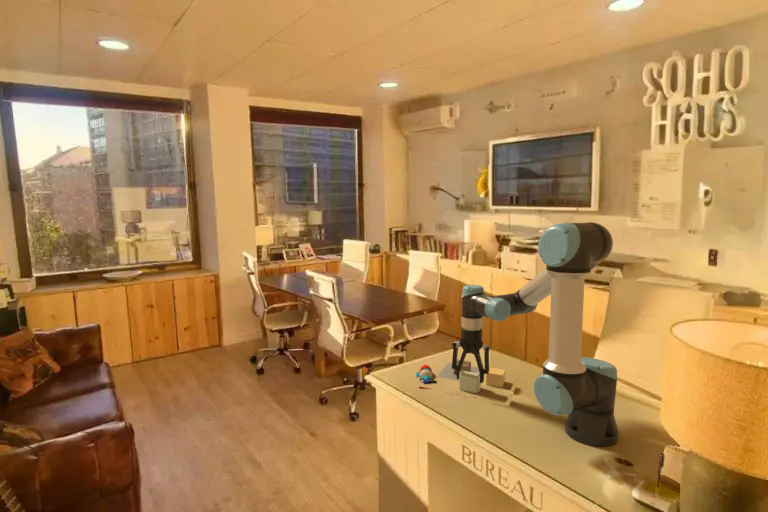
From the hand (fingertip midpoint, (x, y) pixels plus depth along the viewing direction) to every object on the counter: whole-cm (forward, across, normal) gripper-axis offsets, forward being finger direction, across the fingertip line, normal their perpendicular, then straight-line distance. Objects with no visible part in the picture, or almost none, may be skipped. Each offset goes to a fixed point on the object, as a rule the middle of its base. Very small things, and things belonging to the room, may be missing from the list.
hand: (469, 389), depth 176 cm
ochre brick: (+1, -8, -9) cm, 12 cm away
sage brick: (0, 0, 0) cm, 0 cm away
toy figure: (+1, +18, -3) cm, 18 cm away
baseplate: (+1, +6, -14) cm, 16 cm away
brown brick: (0, +6, -14) cm, 15 cm away
